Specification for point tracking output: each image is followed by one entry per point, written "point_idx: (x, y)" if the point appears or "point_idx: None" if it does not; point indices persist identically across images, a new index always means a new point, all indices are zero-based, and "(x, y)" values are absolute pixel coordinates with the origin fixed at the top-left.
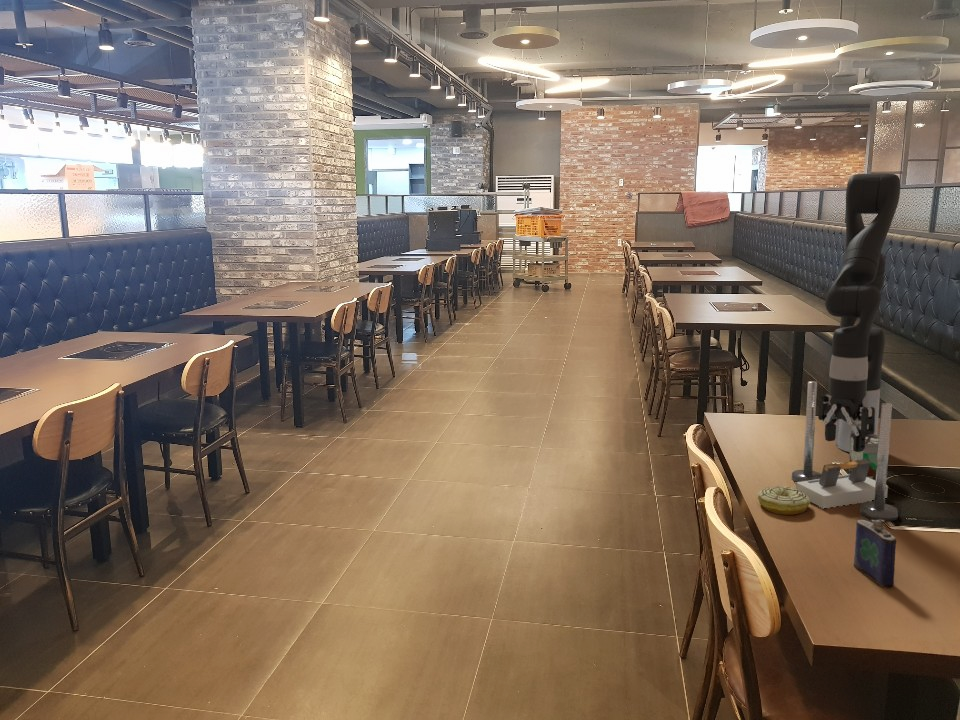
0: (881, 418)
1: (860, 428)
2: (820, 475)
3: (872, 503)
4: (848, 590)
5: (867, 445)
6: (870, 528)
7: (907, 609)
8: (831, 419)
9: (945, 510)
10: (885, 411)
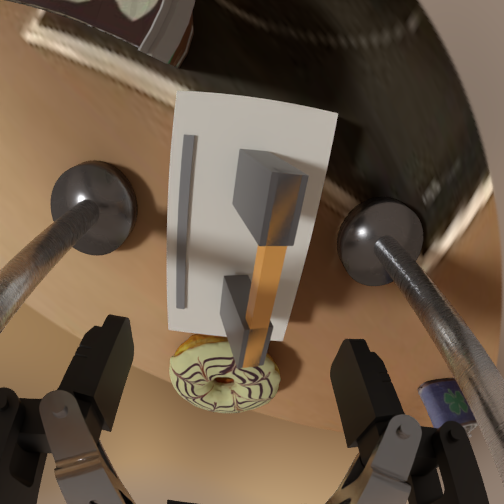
0: None
1: (372, 458)
2: (104, 181)
3: (358, 234)
4: (426, 411)
5: (153, 32)
6: None
7: None
8: (119, 479)
9: (448, 73)
10: None
